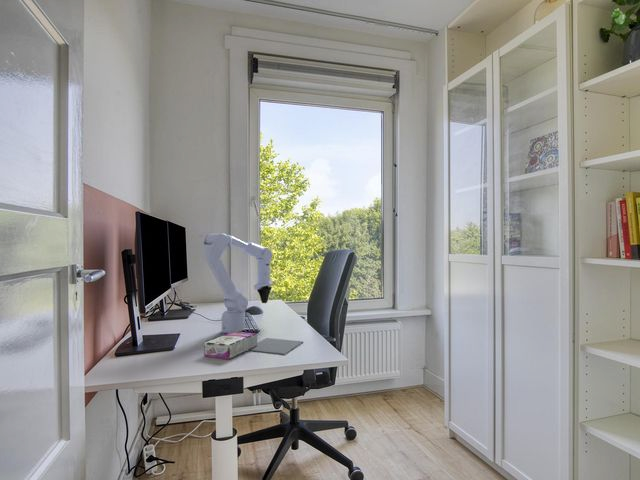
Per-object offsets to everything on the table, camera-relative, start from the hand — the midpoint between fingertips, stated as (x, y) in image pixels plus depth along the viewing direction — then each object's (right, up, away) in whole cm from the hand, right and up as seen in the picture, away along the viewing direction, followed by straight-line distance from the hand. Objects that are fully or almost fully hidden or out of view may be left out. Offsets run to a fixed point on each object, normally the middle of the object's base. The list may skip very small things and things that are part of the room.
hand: (264, 302), depth 173 cm
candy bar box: (-2, -8, -31) cm, 33 cm away
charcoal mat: (+9, -11, -33) cm, 36 cm away
